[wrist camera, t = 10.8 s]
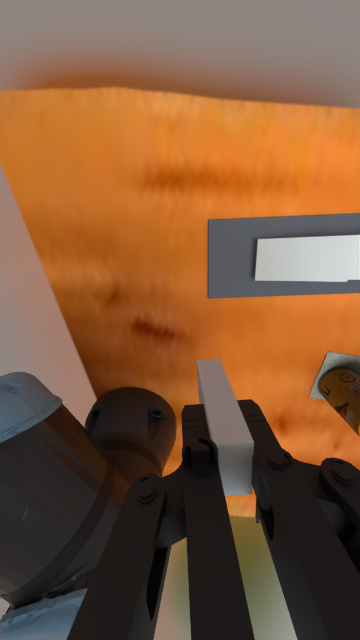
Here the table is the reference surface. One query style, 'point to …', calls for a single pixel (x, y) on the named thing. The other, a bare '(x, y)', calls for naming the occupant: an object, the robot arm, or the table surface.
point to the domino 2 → (355, 262)
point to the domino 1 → (305, 258)
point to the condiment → (340, 386)
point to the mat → (241, 253)
